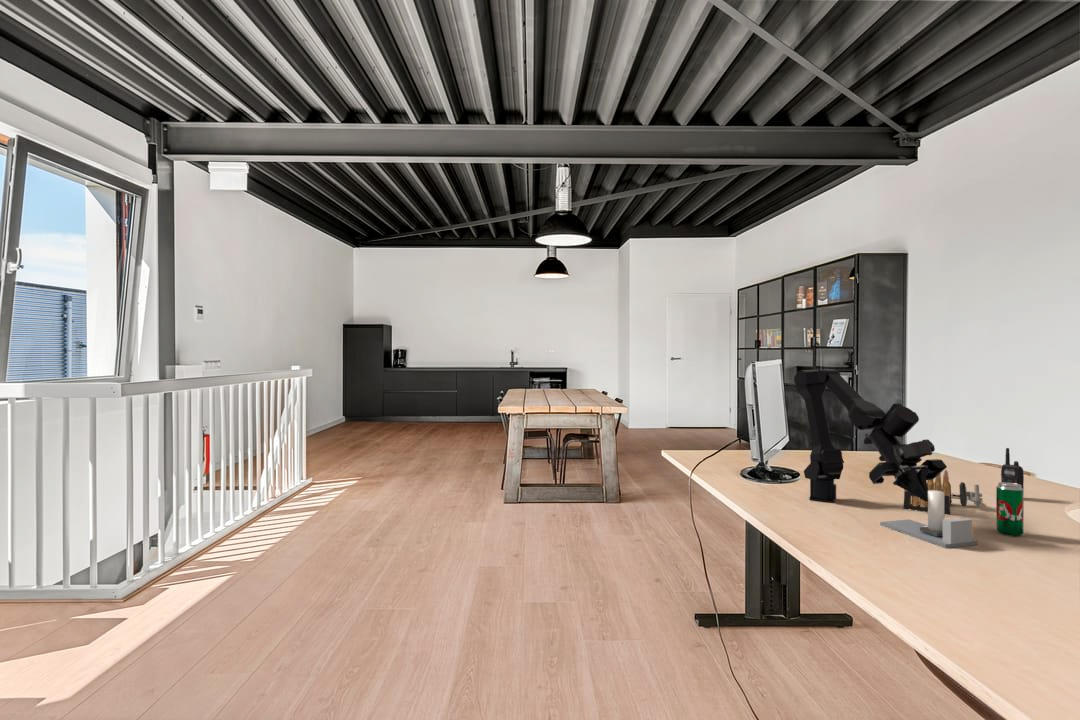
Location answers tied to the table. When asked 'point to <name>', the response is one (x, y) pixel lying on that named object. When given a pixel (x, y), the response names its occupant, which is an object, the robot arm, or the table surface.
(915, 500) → the ammunition clip
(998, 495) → the soda can
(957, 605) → the table surface
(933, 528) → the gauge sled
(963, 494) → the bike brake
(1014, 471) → the two-way radio
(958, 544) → the gauge board
